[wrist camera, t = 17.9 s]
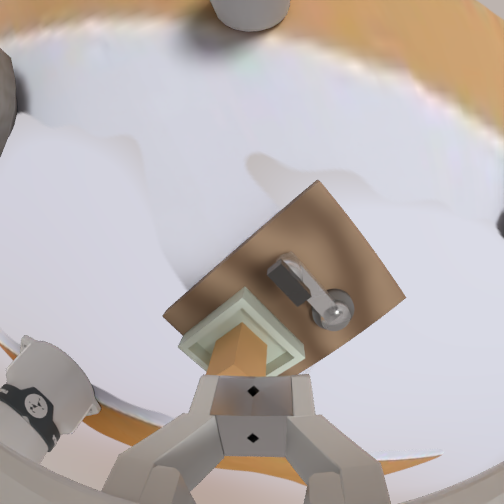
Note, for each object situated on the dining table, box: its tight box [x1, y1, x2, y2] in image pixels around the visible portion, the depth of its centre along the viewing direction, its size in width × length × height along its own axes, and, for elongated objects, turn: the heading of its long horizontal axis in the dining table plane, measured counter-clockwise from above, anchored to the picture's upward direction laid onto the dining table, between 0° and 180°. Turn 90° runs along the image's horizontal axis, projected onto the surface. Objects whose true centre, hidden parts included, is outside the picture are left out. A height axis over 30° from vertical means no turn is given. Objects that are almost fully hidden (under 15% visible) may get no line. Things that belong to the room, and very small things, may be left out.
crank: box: [267, 251, 351, 331], centre depth 25 cm, size 11×3×6 cm, turn 43°
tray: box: [178, 287, 305, 376], centre depth 31 cm, size 10×10×2 cm
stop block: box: [206, 322, 267, 377], centre depth 28 cm, size 4×4×7 cm
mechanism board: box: [163, 180, 406, 376], centre depth 31 cm, size 22×16×2 cm
